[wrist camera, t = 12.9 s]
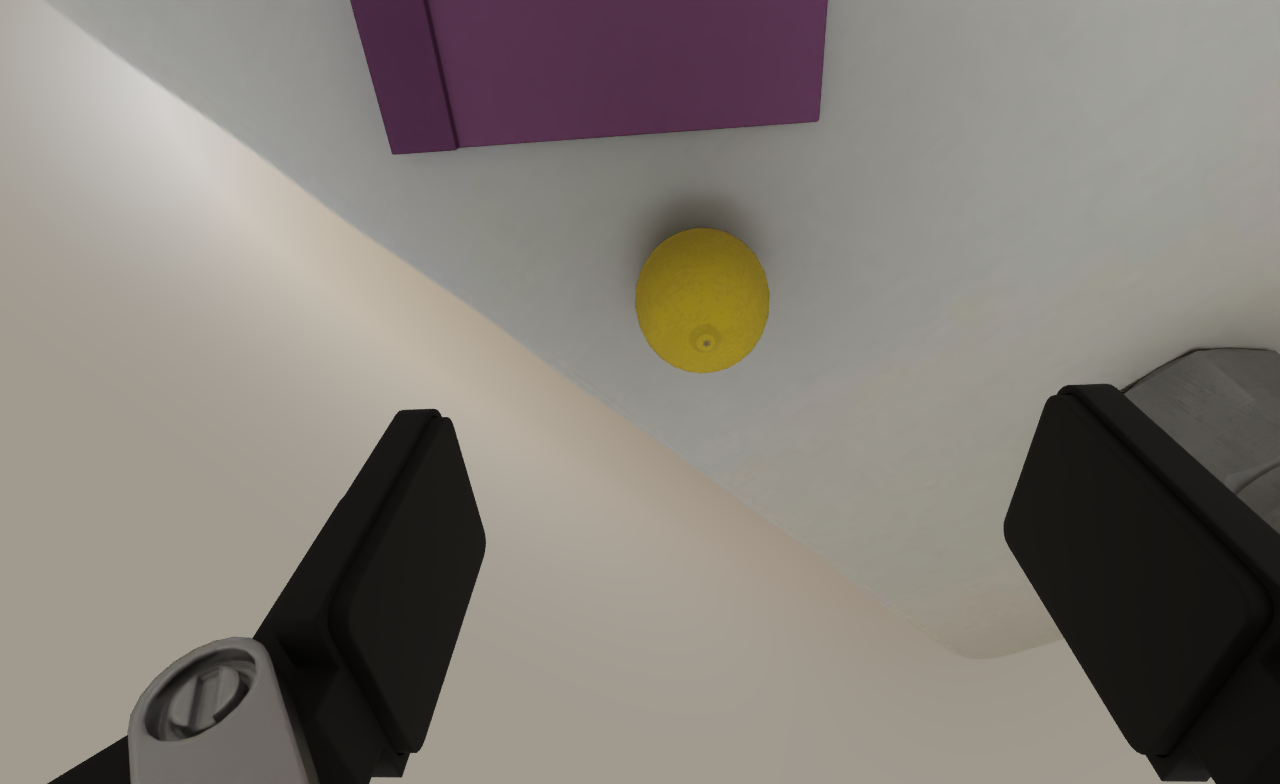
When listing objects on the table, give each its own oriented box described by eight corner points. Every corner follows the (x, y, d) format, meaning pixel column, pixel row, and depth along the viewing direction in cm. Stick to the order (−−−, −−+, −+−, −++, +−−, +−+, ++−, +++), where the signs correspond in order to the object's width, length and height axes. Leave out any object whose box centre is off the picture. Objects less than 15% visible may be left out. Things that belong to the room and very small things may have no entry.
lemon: (687, 338, 31) (690, 430, 24) (616, 255, 29) (598, 331, 22) (780, 273, 29) (812, 355, 22) (711, 179, 27) (723, 238, 20)
